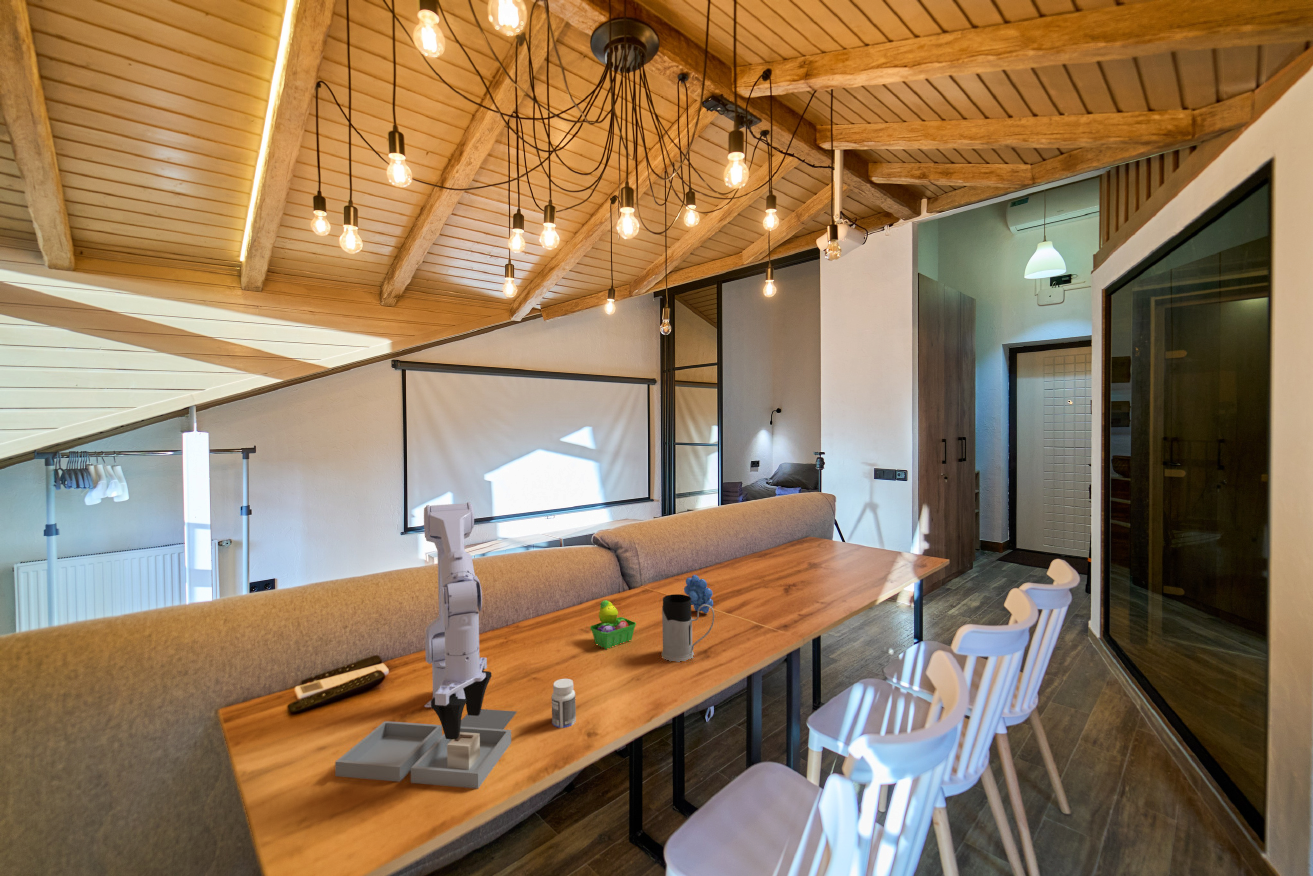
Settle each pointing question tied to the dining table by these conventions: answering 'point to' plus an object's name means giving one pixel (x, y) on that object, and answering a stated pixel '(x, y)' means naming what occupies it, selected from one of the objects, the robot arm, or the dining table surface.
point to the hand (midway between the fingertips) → (463, 726)
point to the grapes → (698, 593)
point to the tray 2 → (437, 772)
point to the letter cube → (463, 750)
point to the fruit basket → (611, 627)
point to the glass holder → (678, 627)
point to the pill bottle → (563, 703)
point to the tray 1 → (388, 751)
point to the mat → (488, 719)
